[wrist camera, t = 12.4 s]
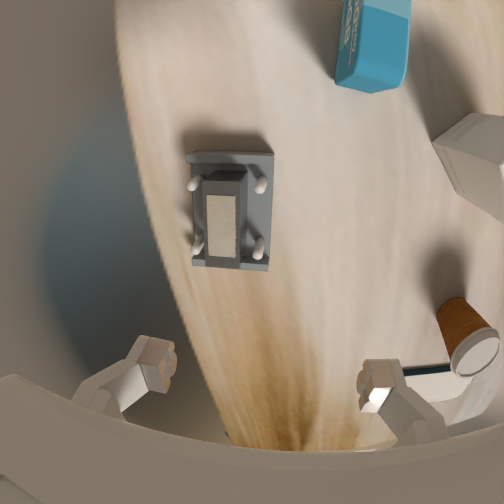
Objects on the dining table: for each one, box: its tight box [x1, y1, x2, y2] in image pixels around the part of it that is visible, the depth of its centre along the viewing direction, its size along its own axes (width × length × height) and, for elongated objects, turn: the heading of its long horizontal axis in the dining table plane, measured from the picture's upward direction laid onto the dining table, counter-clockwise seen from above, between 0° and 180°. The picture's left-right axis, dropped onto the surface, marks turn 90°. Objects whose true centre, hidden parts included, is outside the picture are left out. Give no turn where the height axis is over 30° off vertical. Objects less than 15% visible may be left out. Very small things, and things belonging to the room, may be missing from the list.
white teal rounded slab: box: [403, 366, 473, 403], centre depth 49 cm, size 24×12×2 cm, turn 90°
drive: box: [202, 170, 248, 269], centre depth 34 cm, size 10×4×6 cm, turn 179°
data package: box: [335, 0, 411, 93], centre depth 21 cm, size 12×4×12 cm, turn 173°
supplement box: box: [432, 113, 504, 224], centre depth 23 cm, size 9×9×15 cm
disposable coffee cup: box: [437, 297, 502, 379], centre depth 36 cm, size 10×10×12 cm
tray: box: [186, 151, 274, 272], centre depth 36 cm, size 15×10×5 cm
